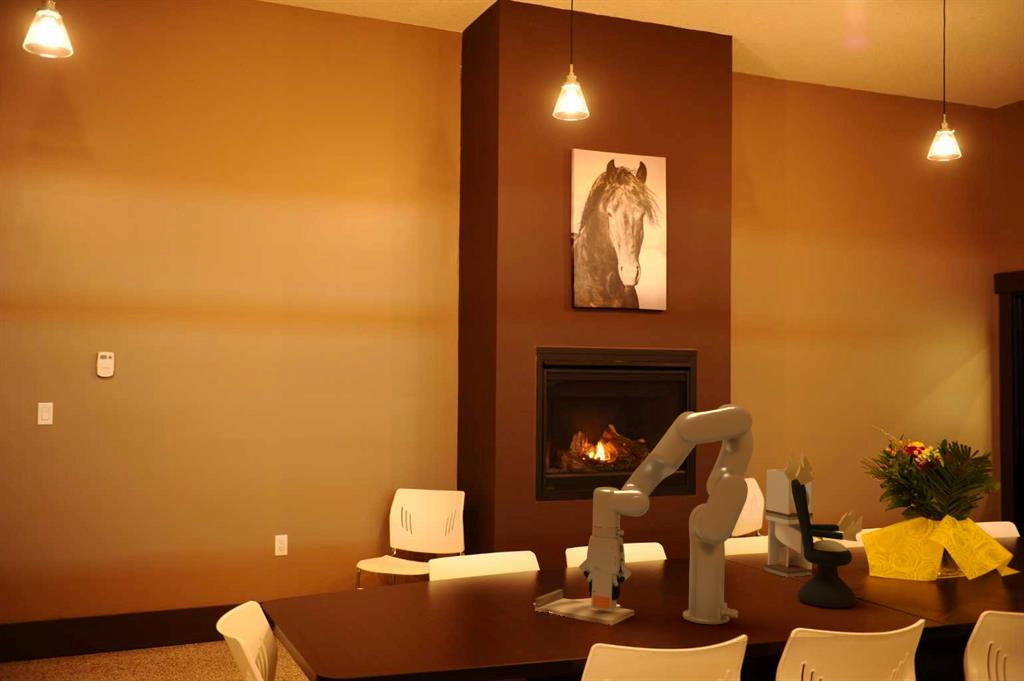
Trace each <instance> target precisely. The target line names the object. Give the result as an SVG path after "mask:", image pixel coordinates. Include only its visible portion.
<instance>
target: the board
mask: <svg viewBox="0 0 1024 681" xmlns="http://www.w3.org/2000/svg"><path fill="white" fill-rule="evenodd" d="M536 611H538V612H537V613H541V612H549V611H550V612H553V613H556V614H557V615H556V616H558V615H560V617H563V616H565V617H564V618H570V619H574V618H575V620H581V621H587V622H593V623H597V622H598V623H597V624H603V625H608V624H609V625H608V626H615V625H616V624H619V623H620V622H623V621H624V620H626V619H628V618H631V617H632V616H634V615H635V610H634V609H628V608H622V607H617V606H616V609H614V610H612V611H606V610H601V609H595V608H591V602H588V601H581V600H577V599H576V600H575V599H569V598H564V590H563V589H557V590H554V591H551V592H549V593H546V594H544V595H540V596H538V597H535V599H534V612H536Z"/></svg>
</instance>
